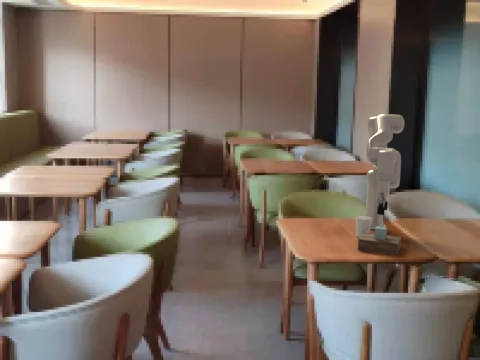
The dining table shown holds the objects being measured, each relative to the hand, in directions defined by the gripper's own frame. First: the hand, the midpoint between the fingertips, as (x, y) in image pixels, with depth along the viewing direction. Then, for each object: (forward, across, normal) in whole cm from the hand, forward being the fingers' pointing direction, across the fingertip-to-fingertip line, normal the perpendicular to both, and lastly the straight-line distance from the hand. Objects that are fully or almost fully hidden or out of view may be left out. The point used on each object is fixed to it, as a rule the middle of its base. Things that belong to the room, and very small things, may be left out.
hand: (382, 212), depth 272 cm
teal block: (+12, +1, 0) cm, 12 cm away
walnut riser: (+17, +1, 0) cm, 17 cm away
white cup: (+18, -16, -11) cm, 27 cm away
